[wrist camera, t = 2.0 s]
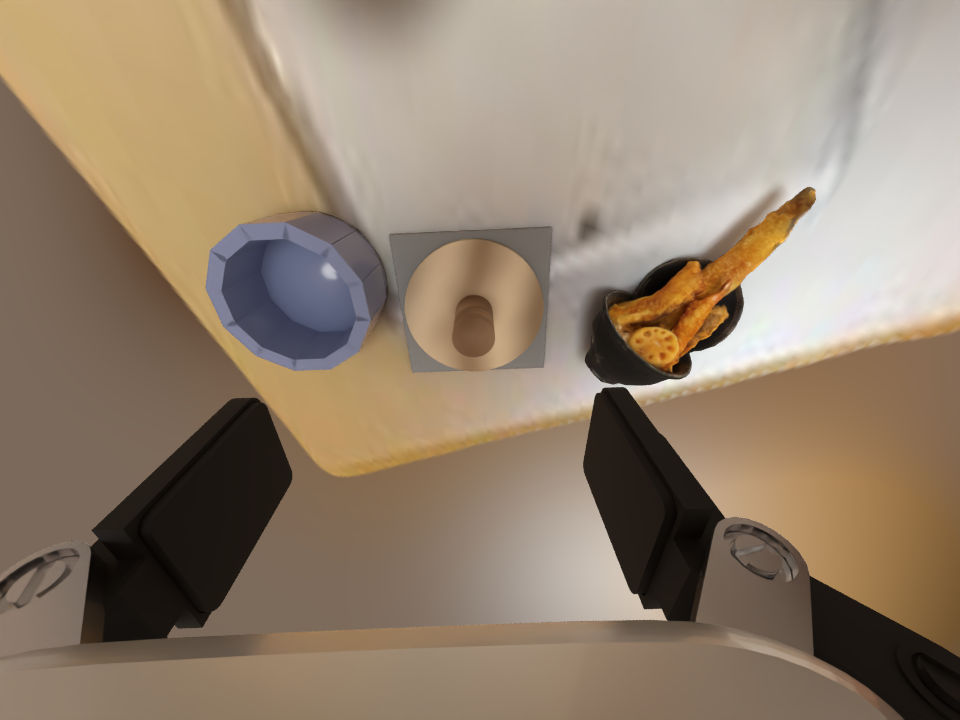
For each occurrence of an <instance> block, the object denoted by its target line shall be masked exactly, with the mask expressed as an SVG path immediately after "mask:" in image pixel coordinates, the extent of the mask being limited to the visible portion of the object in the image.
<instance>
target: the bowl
mask: <svg viewBox="0 0 960 720" xmlns="http://www.w3.org/2000/svg"><path fill="white" fill-rule="evenodd" d="M206 290H207V293H208V295H209V297H210V299H211V301H212V303H213V305H214V308H215V310H216V312H217V314H218V316H219V318H220V320H221V323H222V325H223V327H224V328H225V329H226V330H228V331H229V332H230V333H231V334H232V335H233V336H234V337H235V338H237V339H238V340H239V341H240V342H241V343H242V344H243V345H244V346H246V347H247V348H248V349H249V350H250V351H251V352H252V353H253V354H254V355H257V356H258V357H260V358H263V359H265V360H268V361H271V362H273V363H276V364H278V365H281V366H284V367H286V368H289V369H291V370H295V371H299V370H325V369H332V368H334V367H335V366H337V365H339V364H340V363H342V362H343V361H345V360H347V359H348V358H350V357H351V356H353V355H355V354H356V353H358V352H359V350H360V349H361V347H362V346H363V344H364V342H365V341H366V339H367V338H368V336H369V334H370V333H371V331H372V330H373V328H374V326H375V325H376V322H377V320H378V317H379V315H380V314H381V312H382V310H383V308H384V305H385V301H386V298H387V297H386V296H387V279H386V274H385V270H384V267H383V265H382V262H381V260H380V258H379V256H378V254H377V252H376V251H375V249H374V248H373V246H372V245H371V244H370V243H369V241H368V240H367V239H366V238H365V237H364V236H363V235H362V234H361V233H360V232H359V231H358V230H356V229H355V228H354V227H352V226H351V225H350V224H348V223H346V222H344V221H343V220H341V219H339V218H336V217H334V216H331V215H328V214H325V213H320V212H314V211H301V212H294V213H284V214H277V215H273V216H269V217H265V218H262V219H258V220H254V221H250V222H247V223H243V224H239V225H238V226H237V227H236V228H235V229H233V230H232V231H231V232H230V233H229V234H228V235H227V236H225V237H224V238H223V239H222V240H221V241H220V242H219V243H217V244H216V245H215V246H214V247H213V248H212V249H211V250H210V255H209V263H208V272H207V280H206Z"/></svg>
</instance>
